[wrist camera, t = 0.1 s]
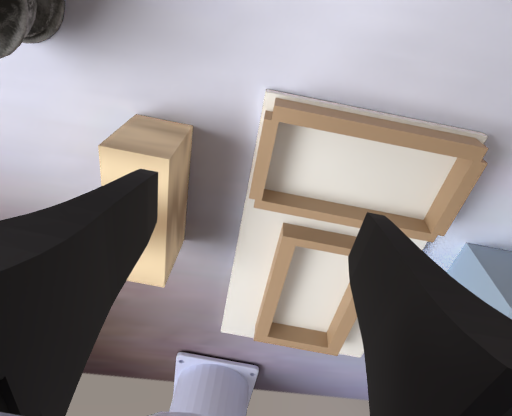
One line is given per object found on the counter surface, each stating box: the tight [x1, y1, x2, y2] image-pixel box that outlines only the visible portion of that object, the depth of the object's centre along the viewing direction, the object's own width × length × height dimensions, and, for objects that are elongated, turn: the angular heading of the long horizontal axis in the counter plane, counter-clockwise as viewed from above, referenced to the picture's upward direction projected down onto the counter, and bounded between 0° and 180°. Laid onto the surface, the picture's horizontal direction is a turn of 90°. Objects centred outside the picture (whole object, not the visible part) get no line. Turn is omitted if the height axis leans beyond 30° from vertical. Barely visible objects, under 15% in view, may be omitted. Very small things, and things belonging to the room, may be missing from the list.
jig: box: [221, 89, 488, 358], centre depth 24 cm, size 21×13×2 cm, turn 170°
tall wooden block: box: [98, 114, 193, 287], centre depth 21 cm, size 9×4×5 cm, turn 170°
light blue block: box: [447, 243, 512, 319], centre depth 24 cm, size 8×4×6 cm, turn 170°
